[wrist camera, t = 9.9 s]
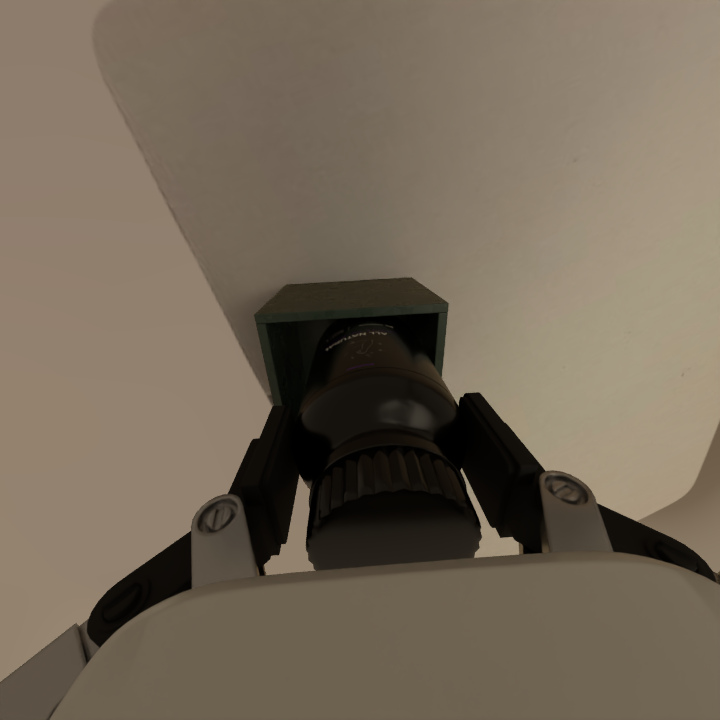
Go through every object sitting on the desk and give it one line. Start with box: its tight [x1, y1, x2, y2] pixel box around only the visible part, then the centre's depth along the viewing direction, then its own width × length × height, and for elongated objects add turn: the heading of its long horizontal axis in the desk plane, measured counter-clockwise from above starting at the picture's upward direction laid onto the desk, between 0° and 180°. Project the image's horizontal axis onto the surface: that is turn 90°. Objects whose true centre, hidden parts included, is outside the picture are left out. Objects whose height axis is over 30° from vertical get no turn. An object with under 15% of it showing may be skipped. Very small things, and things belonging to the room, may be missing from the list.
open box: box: [254, 278, 448, 424], centre depth 20 cm, size 10×10×8 cm
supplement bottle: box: [293, 315, 482, 571], centre depth 13 cm, size 7×7×12 cm
